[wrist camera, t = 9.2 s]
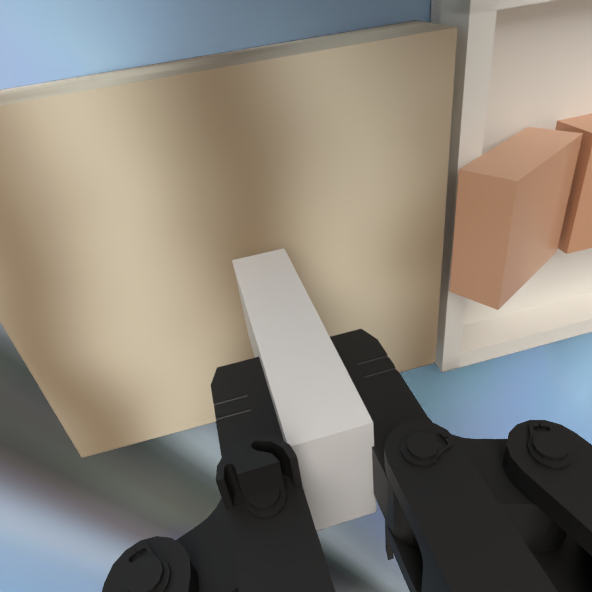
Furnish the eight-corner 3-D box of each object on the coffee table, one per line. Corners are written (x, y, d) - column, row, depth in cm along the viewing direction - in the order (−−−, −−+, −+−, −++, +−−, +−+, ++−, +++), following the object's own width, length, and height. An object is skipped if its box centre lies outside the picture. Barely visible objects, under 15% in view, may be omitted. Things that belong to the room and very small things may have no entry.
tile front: (449, 291, 17) (498, 310, 16) (459, 169, 14) (517, 181, 13) (510, 239, 19) (556, 252, 18) (527, 126, 17) (582, 133, 16)
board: (89, 408, 20) (82, 457, 18) (-74, 102, 13) (-117, 125, 11) (409, 326, 21) (435, 362, 19) (415, 20, 15) (457, 27, 13)
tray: (418, 340, 22) (441, 372, 20) (432, -22, 14) (472, -22, 12) (618, 288, 23) (656, 313, 22) (734, -69, 15) (809, -75, 14)
